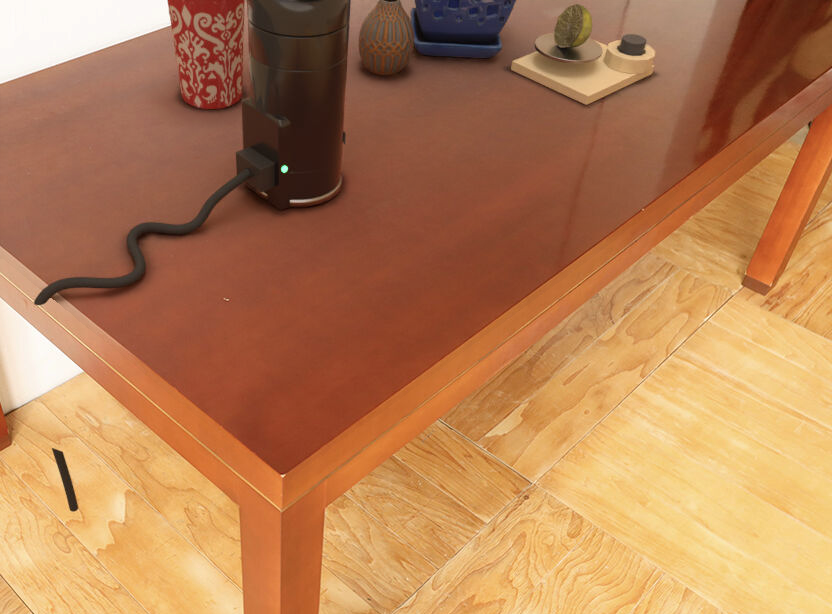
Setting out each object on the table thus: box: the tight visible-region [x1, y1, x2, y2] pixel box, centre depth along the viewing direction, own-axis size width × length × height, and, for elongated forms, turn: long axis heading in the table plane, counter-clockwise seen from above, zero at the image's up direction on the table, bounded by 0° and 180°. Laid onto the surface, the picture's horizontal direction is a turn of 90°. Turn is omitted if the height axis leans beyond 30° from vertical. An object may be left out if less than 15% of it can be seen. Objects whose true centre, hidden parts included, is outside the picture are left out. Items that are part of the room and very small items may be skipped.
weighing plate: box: [534, 32, 603, 64], centre depth 107 cm, size 8×8×1 cm
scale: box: [510, 39, 656, 106], centre depth 109 cm, size 14×12×3 cm
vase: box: [358, 0, 415, 77], centre depth 105 cm, size 7×7×9 cm
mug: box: [167, 0, 246, 110], centre depth 98 cm, size 13×9×14 cm
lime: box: [553, 3, 593, 48], centre depth 105 cm, size 4×5×5 cm
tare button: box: [619, 33, 647, 56], centre depth 108 cm, size 3×3×2 cm
